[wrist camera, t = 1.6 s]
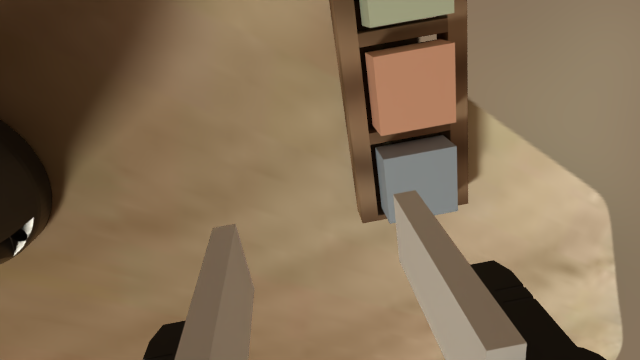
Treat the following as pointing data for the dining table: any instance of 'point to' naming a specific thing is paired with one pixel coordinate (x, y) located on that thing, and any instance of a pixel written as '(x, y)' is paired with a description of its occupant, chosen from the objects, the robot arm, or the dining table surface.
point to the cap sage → (401, 10)
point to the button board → (354, 98)
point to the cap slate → (419, 173)
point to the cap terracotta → (412, 86)
